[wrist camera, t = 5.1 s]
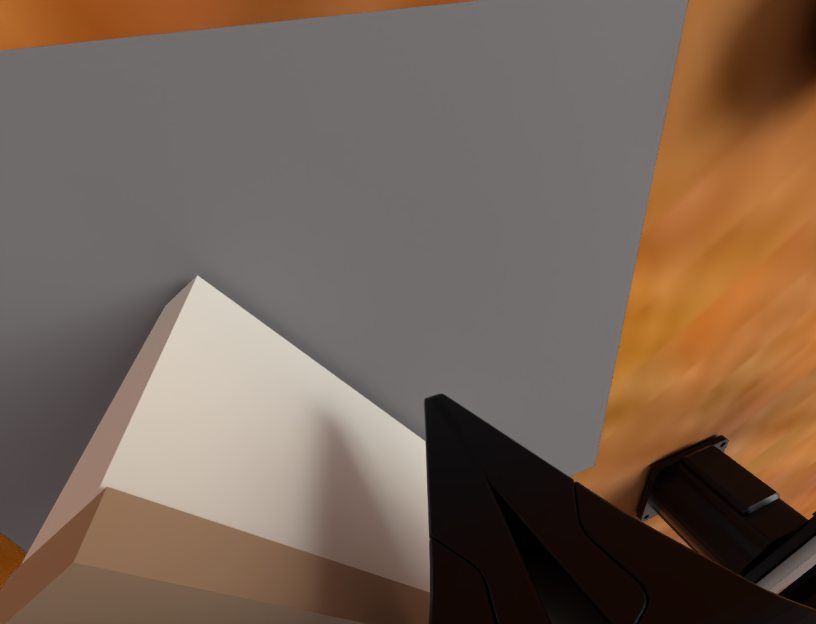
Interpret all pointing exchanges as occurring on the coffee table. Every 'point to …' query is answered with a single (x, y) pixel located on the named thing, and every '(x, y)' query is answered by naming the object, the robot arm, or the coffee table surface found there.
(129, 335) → the flat gray base plate
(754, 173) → the coffee table surface
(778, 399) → the coffee table surface
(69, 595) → the gate
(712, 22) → the coffee table surface
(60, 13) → the coffee table surface
